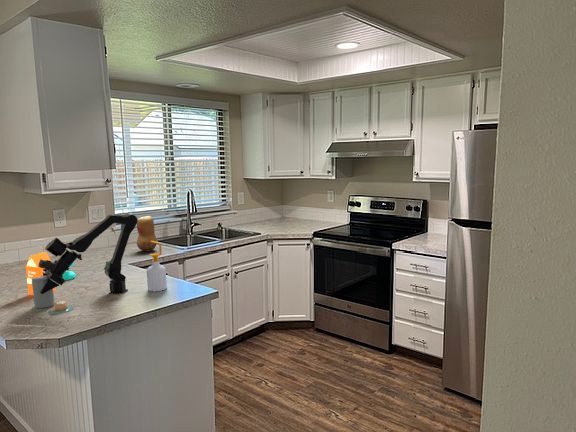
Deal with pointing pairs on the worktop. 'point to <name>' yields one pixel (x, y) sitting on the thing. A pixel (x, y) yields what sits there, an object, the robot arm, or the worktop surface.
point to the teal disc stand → (60, 308)
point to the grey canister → (39, 298)
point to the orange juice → (35, 269)
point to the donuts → (68, 274)
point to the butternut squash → (146, 233)
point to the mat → (42, 308)
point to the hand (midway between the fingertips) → (39, 291)
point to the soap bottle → (156, 273)
